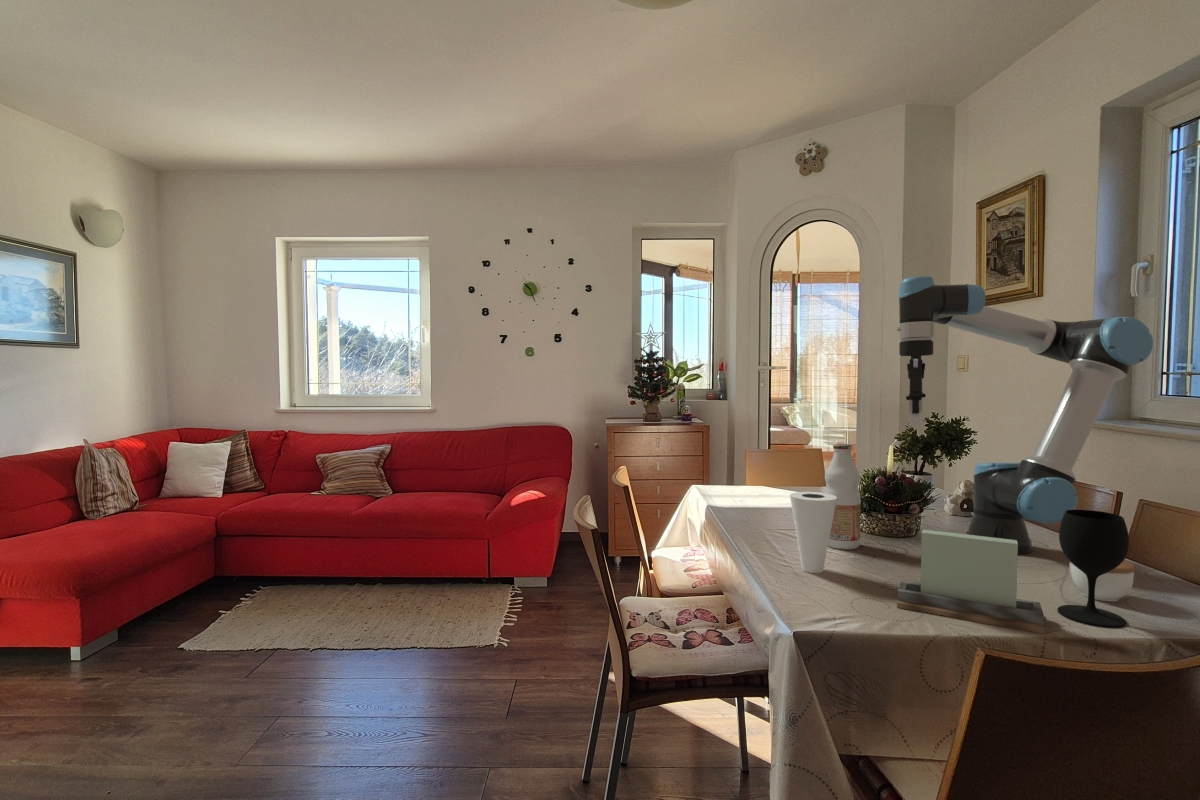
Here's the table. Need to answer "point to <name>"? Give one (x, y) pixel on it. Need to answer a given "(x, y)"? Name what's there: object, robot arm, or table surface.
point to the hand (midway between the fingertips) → (916, 425)
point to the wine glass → (1093, 558)
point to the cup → (813, 527)
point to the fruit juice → (844, 498)
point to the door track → (972, 609)
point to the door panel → (969, 567)
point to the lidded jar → (1106, 582)
